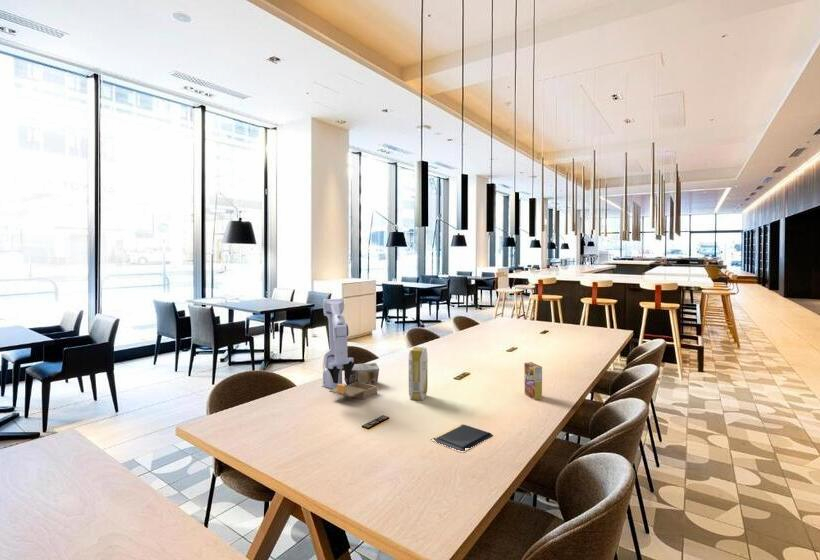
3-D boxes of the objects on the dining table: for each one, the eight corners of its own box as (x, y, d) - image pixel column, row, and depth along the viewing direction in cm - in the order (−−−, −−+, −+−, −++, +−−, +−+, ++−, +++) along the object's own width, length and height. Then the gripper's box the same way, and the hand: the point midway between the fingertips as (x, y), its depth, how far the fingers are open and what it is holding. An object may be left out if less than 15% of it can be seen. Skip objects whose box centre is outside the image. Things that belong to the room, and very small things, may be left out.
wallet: (461, 449, 149) (428, 436, 159) (461, 455, 149) (428, 441, 159) (495, 432, 163) (462, 421, 173) (495, 437, 163) (462, 425, 174)
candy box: (523, 394, 209) (523, 362, 208) (531, 393, 210) (531, 361, 209) (534, 400, 200) (534, 367, 199) (542, 399, 202) (542, 366, 201)
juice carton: (424, 401, 200) (424, 348, 198) (407, 400, 201) (407, 348, 200) (428, 394, 209) (428, 344, 207) (411, 393, 210) (411, 343, 209)
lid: (329, 391, 203) (328, 383, 202) (344, 385, 211) (344, 377, 211) (351, 396, 195) (351, 388, 195) (366, 390, 204) (366, 382, 203)
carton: (342, 394, 210) (342, 386, 210) (356, 388, 218) (356, 381, 218) (363, 399, 203) (363, 391, 202) (377, 393, 211) (377, 386, 211)
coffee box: (377, 384, 226) (346, 386, 220) (374, 377, 232) (344, 379, 226) (379, 368, 223) (348, 371, 217) (376, 361, 229) (345, 364, 223)
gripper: (336, 355, 190) (336, 386, 191) (358, 349, 202) (358, 378, 203) (324, 353, 194) (325, 383, 195) (346, 347, 206) (347, 375, 207)
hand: (341, 380), depth 199 cm, fingers open, 7 cm apart
